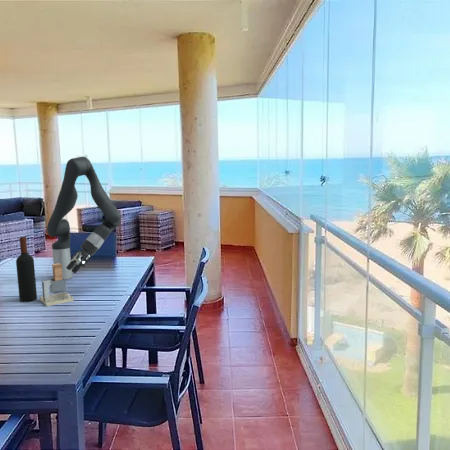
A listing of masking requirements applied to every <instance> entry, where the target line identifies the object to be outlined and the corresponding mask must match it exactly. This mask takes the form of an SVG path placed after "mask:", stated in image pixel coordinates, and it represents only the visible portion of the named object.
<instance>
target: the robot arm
mask: <svg viewBox="0 0 450 450" xmlns="http://www.w3.org/2000/svg"><path fill="white" fill-rule="evenodd" d="M81 176H82V177H83V176H85V177H86V179H87V180H88V182H89V184H90V185H89V186H90V187H89V188H90V195H91V199H92V201H94V203H95V205H96V206H97V208H98V209H99V210H100V211H101V212H102V214H103V216H104V217H105V219H104V220H103V221H102V222H101V223H100V224H98V225H97V226H96V228H94V230H93V231H92V232H91V233H90V234H89V235H88V236H87V237H86V238H85V240H84V241H83V242H82V243H81V245H80V249H81V250H79V249H78V250H77V251H76V252H75V253H74V254H73V255H72V256H71V227H70V222H69V221H68V220H67V219H66V218H64V217H65V216H67V215H68V214H69V213H70V212H71V211H72V210H73V209H74V208H75V205H76V202H77V200H78V197H79V196H78V191H77V188H76V182H77V179H78V178H79V177H81ZM60 187H61V188H60V190H59V193H58V195H57V196H58V197H57V200H56V203H55V206H54V209H53V212H52V214H51V215H50V217H49V220H48V221H47V226H46V232H47V234H48V236H49V237H52V238H55V237H59V238H58V239H57V240H56V241H55V242H53V243H52V244H51V250H52V262H53V264H58V263H60V264H61V265H62V277H63V278H64V279H65V281H66V280H69V279H73V274H77V272H78V271H79V270H80V269H81V268H83V267H85V266H86V265H87V263H88V262H90V259H91V258H92V257H93V256H94V255H95V254H96V253H97V251H98V250H99V249H100V248H101V247H102V246H103V243H104V242H105V241H106V240H107V239H108V237H109V236H110V234H111V233H112V232H113V231H115V230H116V228H117V227H118V226H119V225H120V224H121V221H122V214H121V212H120V210H119V209H118V208H117V206H116V205H114V203H113V202H112V200H111V198H110V197H109V195H108V194H107V192H106V191H105V190H104V187H103V186H102V183H101V182H100V180H99V178H98V175H97V173H96V170H95V169H94V166H93V164H92V163H91V160H90V159H89V158H88V157H86V156H79V157H73V158H70V159H68V161H67V163H66V165H65V169H64V175H63V180H62V184H61V186H60Z"/></svg>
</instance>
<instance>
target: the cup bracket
mask: <svg viewBox="0 0 450 450" xmlns="http://www.w3.org/2000/svg"><path fill="white" fill-rule="evenodd" d="M66 284H67V283H66V280H65V279H64V278H63V280H57V281H54V280H53V278H49V279H47V280H42V281H41V286H42V287H41V289H42V296H39V301H40V302H42V304H44V306H46V307H50V306H55V305H60V304H64V303H70V302H74V297H73V296H72V295H70V294H69V293H68V292H66V291H67V285H66ZM50 292H51V293H52V294H50Z"/></svg>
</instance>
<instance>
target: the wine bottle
mask: <svg viewBox="0 0 450 450" xmlns="http://www.w3.org/2000/svg"><path fill="white" fill-rule="evenodd" d="M27 244H28V242H27V236H20V237H19V246H20V255H19V256H18V257H17V258H16V259H15V264H16V266H15V267H16V275H17V285H18V287H17V288H18V297H19V298H18V299H19V303H30V302H34V301H37V300H38V294H37V284H36V283H37V282H36V280H37V279H36V270H35V259H34V257H33V256H32V255H30V254H29V253H28V245H27Z"/></svg>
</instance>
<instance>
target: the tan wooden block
mask: <svg viewBox="0 0 450 450" xmlns="http://www.w3.org/2000/svg"><path fill="white" fill-rule="evenodd" d="M51 267H52V279H53V280H54V281H57V280H63V277H62V265H61V264H60V263H58V264H51Z"/></svg>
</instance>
